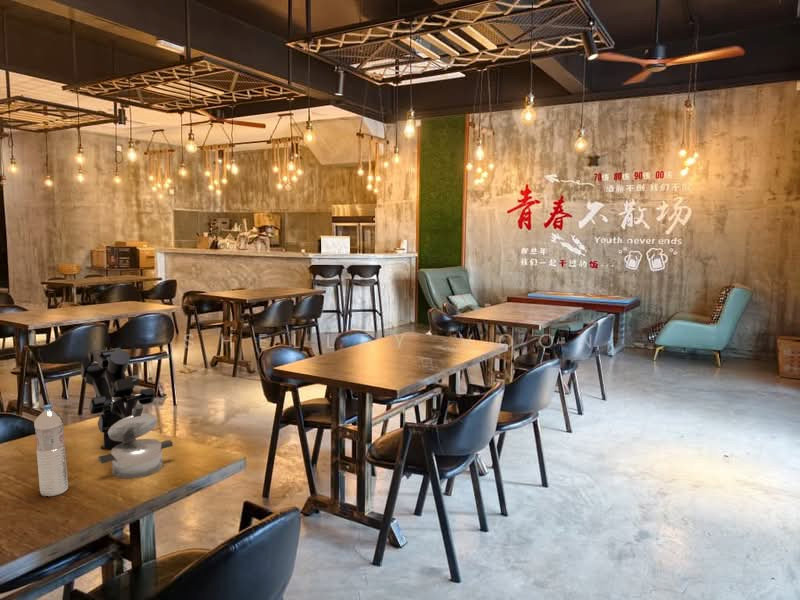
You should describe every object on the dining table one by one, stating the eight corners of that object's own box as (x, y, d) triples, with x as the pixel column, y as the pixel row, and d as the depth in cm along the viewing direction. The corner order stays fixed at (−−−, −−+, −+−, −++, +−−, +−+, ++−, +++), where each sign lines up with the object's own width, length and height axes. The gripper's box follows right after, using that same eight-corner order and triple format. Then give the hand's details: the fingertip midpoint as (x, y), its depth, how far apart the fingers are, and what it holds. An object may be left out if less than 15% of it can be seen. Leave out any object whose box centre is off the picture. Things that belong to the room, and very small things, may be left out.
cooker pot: (94, 469, 175) (92, 447, 174) (163, 452, 189) (162, 431, 188) (107, 485, 164) (105, 462, 163) (180, 466, 177) (178, 444, 176)
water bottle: (58, 497, 157) (51, 409, 154) (34, 497, 157) (27, 409, 154) (73, 486, 163) (67, 402, 161) (50, 486, 164) (43, 402, 161)
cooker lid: (105, 445, 176) (104, 440, 176) (152, 434, 185) (151, 430, 186) (114, 414, 164) (113, 409, 165) (164, 404, 173) (162, 400, 174)
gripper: (88, 372, 175) (100, 416, 168) (151, 363, 187) (165, 403, 180) (84, 392, 182) (95, 435, 175) (145, 382, 194) (158, 421, 187)
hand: (129, 423), depth 179 cm, fingers closed
